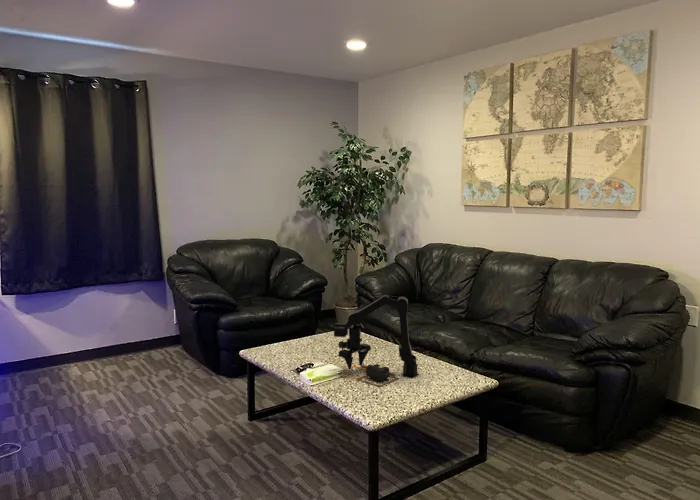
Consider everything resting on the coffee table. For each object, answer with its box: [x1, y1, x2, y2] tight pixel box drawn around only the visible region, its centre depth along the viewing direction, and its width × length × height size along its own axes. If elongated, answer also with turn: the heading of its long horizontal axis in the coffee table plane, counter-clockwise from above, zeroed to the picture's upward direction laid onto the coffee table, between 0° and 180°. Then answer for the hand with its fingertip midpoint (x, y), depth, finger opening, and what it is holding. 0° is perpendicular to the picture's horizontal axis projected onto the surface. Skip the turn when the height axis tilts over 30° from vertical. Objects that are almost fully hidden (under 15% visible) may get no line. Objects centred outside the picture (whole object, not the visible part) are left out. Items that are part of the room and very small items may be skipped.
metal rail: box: [360, 363, 397, 377], centre depth 267 cm, size 22×2×1 cm, turn 47°
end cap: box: [365, 363, 390, 383], centre depth 256 cm, size 10×7×7 cm
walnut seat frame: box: [356, 374, 400, 388], centre depth 256 cm, size 15×15×1 cm
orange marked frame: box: [341, 365, 366, 381], centre depth 266 cm, size 15×15×1 cm
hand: (355, 367), depth 266 cm, fingers open, 8 cm apart
